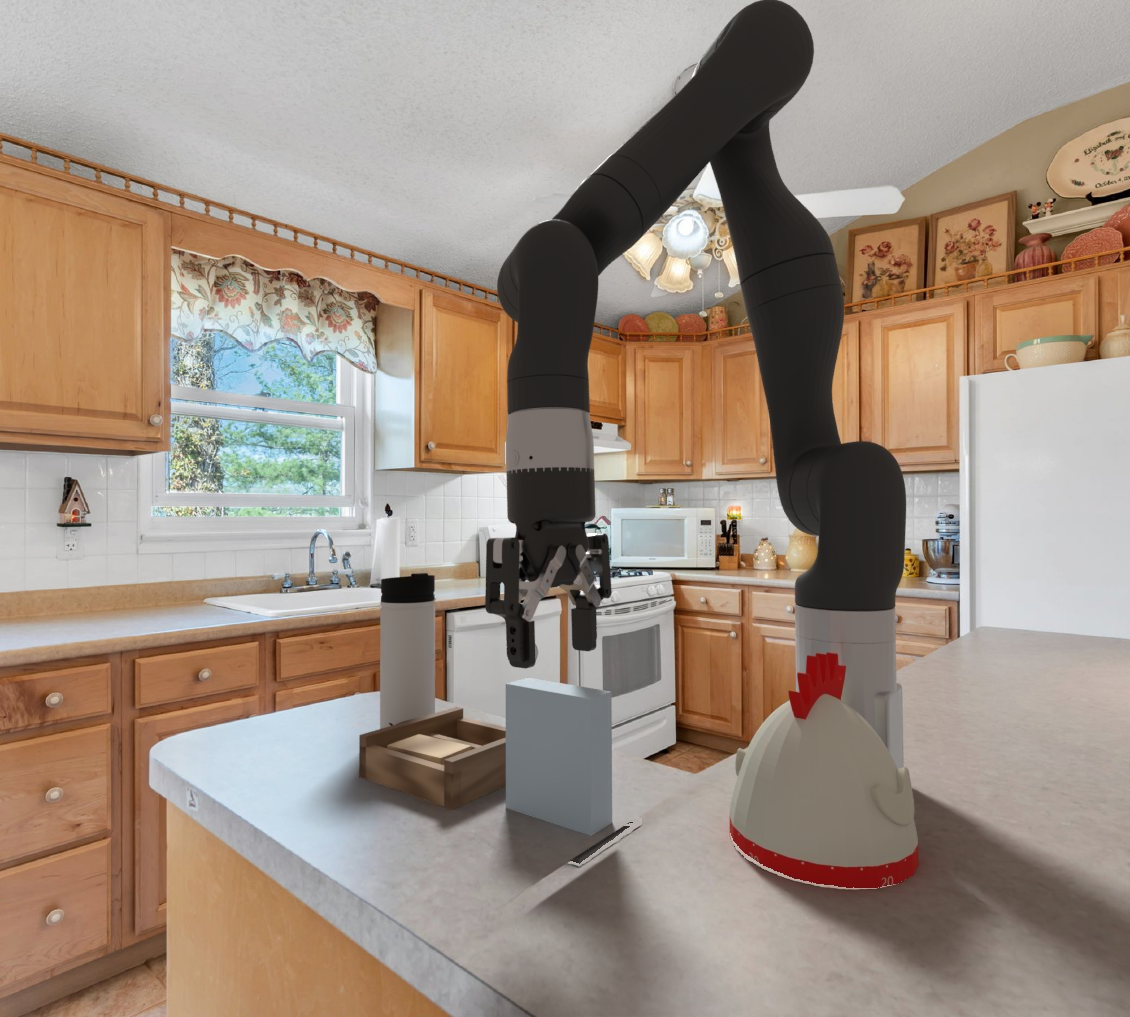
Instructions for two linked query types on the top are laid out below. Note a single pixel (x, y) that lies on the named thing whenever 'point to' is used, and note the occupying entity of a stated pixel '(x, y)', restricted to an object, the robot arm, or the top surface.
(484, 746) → the rack
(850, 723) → the kitchen timer
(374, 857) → the top surface
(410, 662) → the travel mug
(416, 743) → the offcut upper
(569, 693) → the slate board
